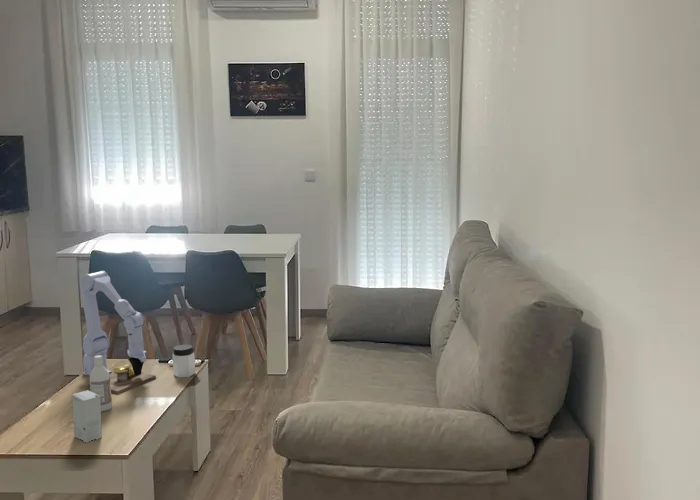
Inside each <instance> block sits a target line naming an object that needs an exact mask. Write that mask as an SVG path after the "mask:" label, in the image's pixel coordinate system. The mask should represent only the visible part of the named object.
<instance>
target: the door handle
mask: <svg viewBox="0 0 700 500" xmlns="http://www.w3.org/2000/svg"><path fill="white" fill-rule="evenodd" d="M113 373H114V374H124V373H127V377H131V376H133V375H135V374H134V371H133V368H132V365H131V364H125V365H120V366H116V367H114V368H113Z"/></svg>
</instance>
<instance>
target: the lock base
mask: <svg viewBox="0 0 700 500" xmlns="http://www.w3.org/2000/svg"><path fill="white" fill-rule="evenodd" d="M156 378H157V376H156V375H154V374H151V373H150V374H149V373H146V372H142V371H141V375H137V376H136V375H133V376H131V377H127V373H124V374H115V373H114V374H111V375H110V384H111V394H116V395H119V394H121V393H124V392H126V391H129V390H131V389H134V388H135V387H138V386H141V385H143V384H145V383H147V382H150V381H153V380H155V379H156ZM87 387H88V388H90V383H87Z"/></svg>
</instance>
